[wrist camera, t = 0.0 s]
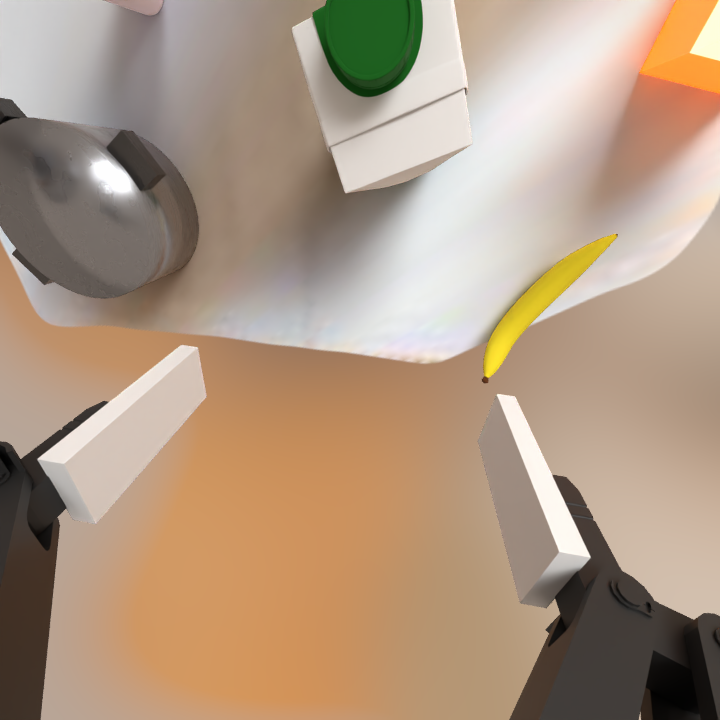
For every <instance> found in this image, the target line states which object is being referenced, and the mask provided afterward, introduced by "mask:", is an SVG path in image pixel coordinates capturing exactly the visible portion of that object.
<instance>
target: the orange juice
mask: <svg viewBox="0 0 720 720" xmlns="http://www.w3.org/2000/svg"><path fill="white" fill-rule="evenodd" d="M639 73H641V74H645V75H649V76H653V77H657V78H660V79H664V80H668V81H672V82H676V83H680V84H684V85H688V86H691V87H695V88H699V89H703V90H707V91H711V92H715V93H719V94H720V0H676V2H675V4H674V5H673V7H672V9H671V11H670V13H669V15H668V17H667V19H666V21H665V23H664V25H663V27H662V29H661V31H660V33H659V35H658V37H657V39H656V41H655V43H654V45H653V47H652V49H651V51H650V53H649V54H648V56H647V58H646V60H645V62H644V64H643V66H642V68H641V70H640V72H639Z"/></svg>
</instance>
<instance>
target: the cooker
mask: <svg viewBox="0 0 720 720" xmlns="http://www.w3.org/2000/svg"><path fill="white" fill-rule="evenodd" d="M0 226H1V228H2V230H3V231H4V233H5V234H6V236H7V237H8V238H9V240H10V241H11V243H12V244H13V245H14V246H15V247H16V250H15V251H14V252H13V253H12V255H13V256H15V257H16V258H17V259H18V260H19V261H20V262H21V263H22V264H23V265H24V266H25V267H26V268H27V269H28V270H29V271H30V272H31V273H32V274H33V275H34V276H36V277H37V278H38V279H39V280H40V281H41V282H42V283H43V284H44V285H46V284H49V283H52V282H55V283H57V284H59V285H61V286H62V287H64V288H66V289H68V290H71V291H73V292H75V293H78V294H81V295H84V296H89V297H94V298H114V297H118V296H121V295H124V294H126V293H128V292H131V291H133V290H135V289H137V288H139V287H142V286H144V285H146V284H148V283H150V282H153V281H155V280H157V279H159V278H161V277H164V276H166V275H168V274H170V273H172V272H175V271H177V270H178V269H180V268H182V267H183V266H184V265H185V264H186V263H187V262H188V261H189V259H190V258H191V257H192V255H193V253H194V251H195V248H196V245H197V240H198V231H199V225H198V216H197V211H196V207H195V203H194V200H193V197H192V195H191V193H190V190H189V188H188V186H187V184H186V183H185V181H184V179H183V177H182V176H181V174H180V173H179V171H178V170H177V168H176V167H175V166H174V165H173V164H172V162H171V161H170V160H169V159H168V158H167V157H166V156H165V155H164V154H163V153H162V152H161V151H160V150H159V149H157V148H156V147H155V146H154V145H153V144H151V143H150V142H148V141H146V140H145V139H143V138H141V137H139V136H137V135H136V134H135V133H134V132H133V131H127V130H120V129H115V128H107V127H100V126H92V125H84V124H77V123H69V122H61V121H54V120H46V119H38V118H27V117H26V116H25V114H24V113H23V112H22V111H21V110H20V109H19V108H18V106H17V105H16V104H15V103H14V102H13V101H12V100H10V99H4V98H0Z"/></svg>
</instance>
